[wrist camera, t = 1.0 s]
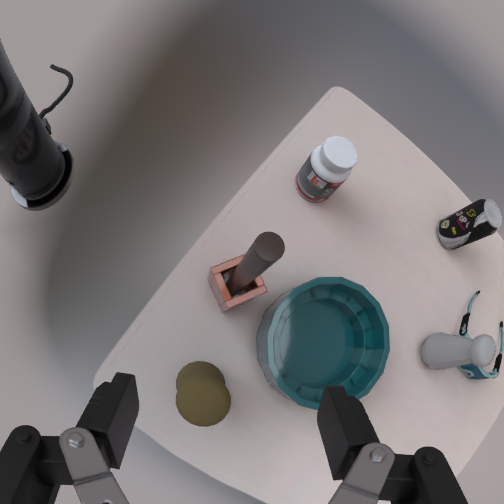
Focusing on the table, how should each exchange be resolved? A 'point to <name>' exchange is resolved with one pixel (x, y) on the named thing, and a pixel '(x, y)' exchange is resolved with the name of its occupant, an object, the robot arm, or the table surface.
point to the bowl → (323, 340)
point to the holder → (220, 290)
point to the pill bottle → (326, 168)
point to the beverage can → (469, 224)
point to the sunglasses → (472, 370)
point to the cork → (202, 394)
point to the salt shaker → (457, 351)
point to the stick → (256, 261)
